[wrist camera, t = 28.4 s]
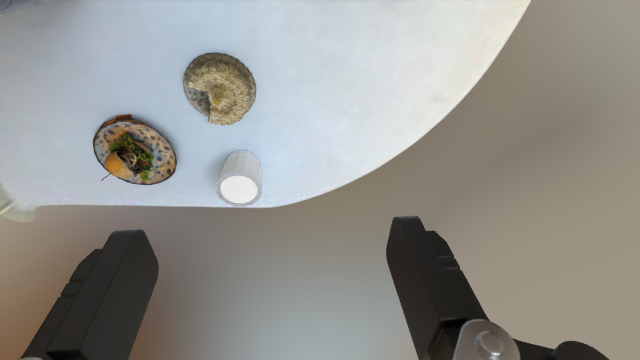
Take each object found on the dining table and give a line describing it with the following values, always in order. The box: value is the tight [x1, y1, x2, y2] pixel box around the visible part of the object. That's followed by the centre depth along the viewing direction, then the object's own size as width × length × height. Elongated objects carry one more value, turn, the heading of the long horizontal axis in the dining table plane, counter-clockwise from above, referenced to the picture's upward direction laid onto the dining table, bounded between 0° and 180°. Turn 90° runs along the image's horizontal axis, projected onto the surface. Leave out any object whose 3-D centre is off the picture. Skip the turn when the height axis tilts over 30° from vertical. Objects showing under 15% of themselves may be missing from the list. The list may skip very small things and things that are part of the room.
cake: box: [184, 53, 256, 126], centre depth 44 cm, size 10×10×5 cm
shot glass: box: [216, 150, 262, 206], centre depth 51 cm, size 7×7×7 cm
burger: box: [93, 114, 177, 185], centre depth 47 cm, size 12×12×8 cm
